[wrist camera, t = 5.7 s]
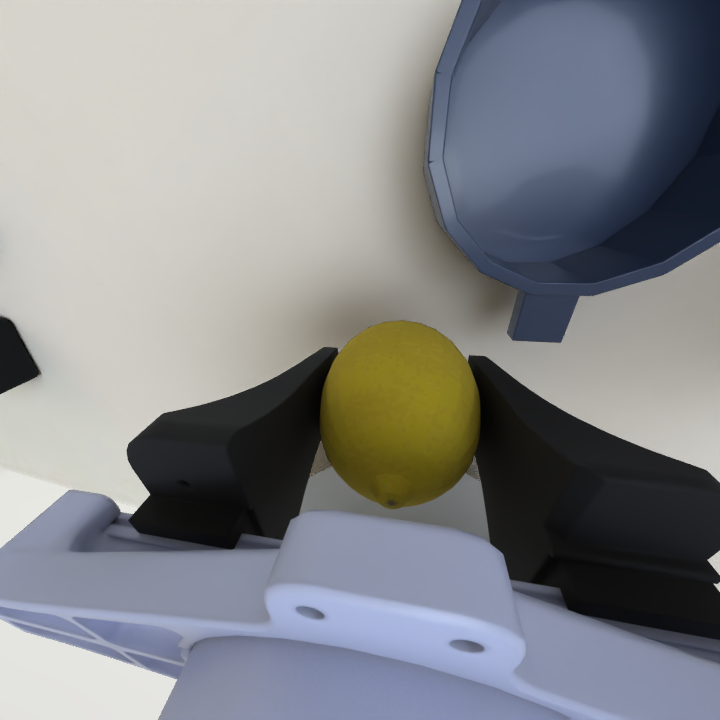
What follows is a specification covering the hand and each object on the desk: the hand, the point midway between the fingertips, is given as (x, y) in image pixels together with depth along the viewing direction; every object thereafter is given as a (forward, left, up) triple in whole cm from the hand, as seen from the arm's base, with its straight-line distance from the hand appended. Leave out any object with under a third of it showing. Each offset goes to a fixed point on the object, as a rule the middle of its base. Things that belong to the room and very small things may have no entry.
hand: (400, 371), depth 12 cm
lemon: (0, 0, -2) cm, 2 cm away
